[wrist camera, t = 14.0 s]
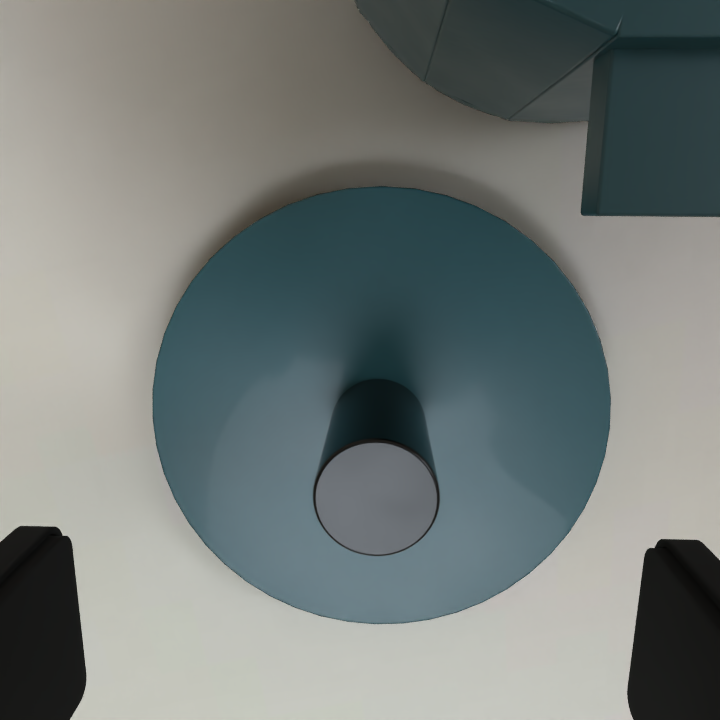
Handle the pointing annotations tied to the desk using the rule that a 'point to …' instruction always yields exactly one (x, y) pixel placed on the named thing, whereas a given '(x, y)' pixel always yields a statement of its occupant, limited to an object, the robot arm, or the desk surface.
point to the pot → (584, 84)
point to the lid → (381, 405)
